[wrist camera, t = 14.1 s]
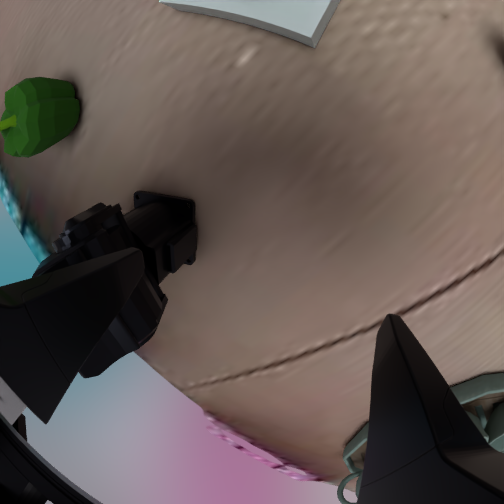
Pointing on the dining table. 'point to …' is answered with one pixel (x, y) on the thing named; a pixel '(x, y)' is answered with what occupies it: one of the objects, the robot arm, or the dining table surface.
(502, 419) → the tea set
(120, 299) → the robot arm
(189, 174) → the dining table surface
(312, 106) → the dining table surface
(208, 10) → the tray
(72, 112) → the bell pepper
